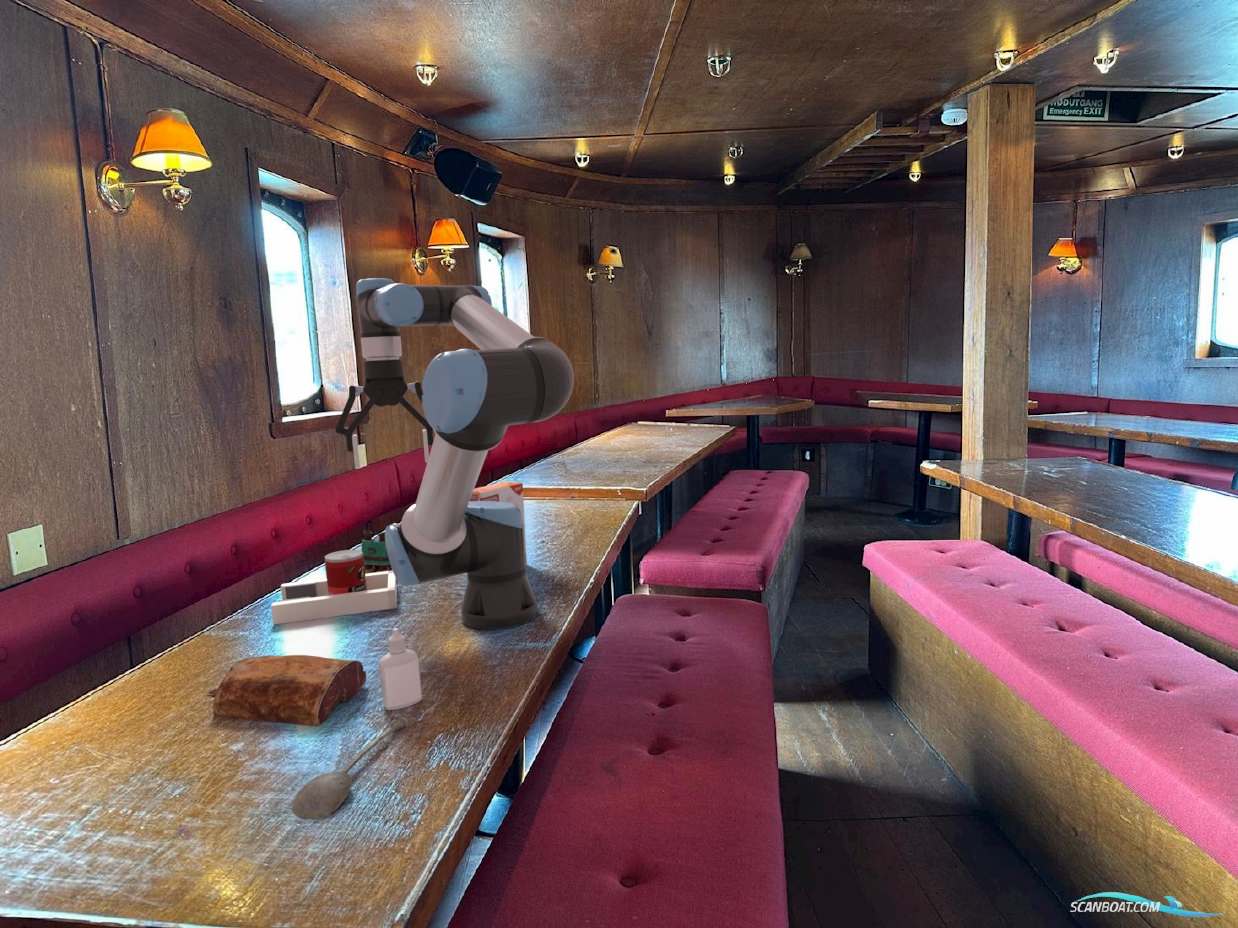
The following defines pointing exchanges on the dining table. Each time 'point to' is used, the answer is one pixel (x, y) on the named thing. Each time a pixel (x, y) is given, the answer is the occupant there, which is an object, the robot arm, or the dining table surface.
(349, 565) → the canned food
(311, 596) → the white rectangular tray
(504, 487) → the cracker box
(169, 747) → the dining table surface
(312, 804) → the soupspoon
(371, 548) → the binoculars
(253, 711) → the cured meat
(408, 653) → the eye dropper bottle
